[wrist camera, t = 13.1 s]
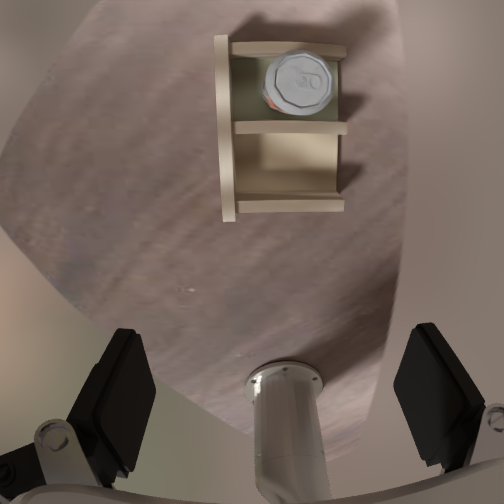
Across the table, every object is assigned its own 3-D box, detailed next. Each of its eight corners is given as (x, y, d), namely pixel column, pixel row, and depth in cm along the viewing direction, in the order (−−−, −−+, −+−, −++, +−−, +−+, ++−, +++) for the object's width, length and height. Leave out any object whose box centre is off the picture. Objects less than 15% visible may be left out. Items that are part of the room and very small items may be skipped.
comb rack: (333, 204, 35) (344, 219, 31) (226, 206, 35) (223, 221, 31) (334, 46, 27) (347, 38, 23) (219, 45, 27) (214, 35, 23)
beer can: (263, 66, 28) (268, 43, 17) (310, 71, 28) (341, 53, 17) (259, 111, 30) (263, 112, 19) (306, 115, 30) (335, 120, 19)
